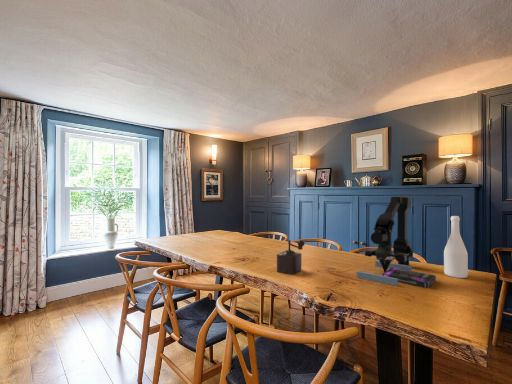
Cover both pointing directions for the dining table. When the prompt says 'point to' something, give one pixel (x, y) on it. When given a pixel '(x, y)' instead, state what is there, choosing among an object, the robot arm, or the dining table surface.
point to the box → (411, 277)
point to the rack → (383, 278)
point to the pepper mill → (290, 259)
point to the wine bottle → (455, 253)
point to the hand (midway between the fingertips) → (385, 272)
